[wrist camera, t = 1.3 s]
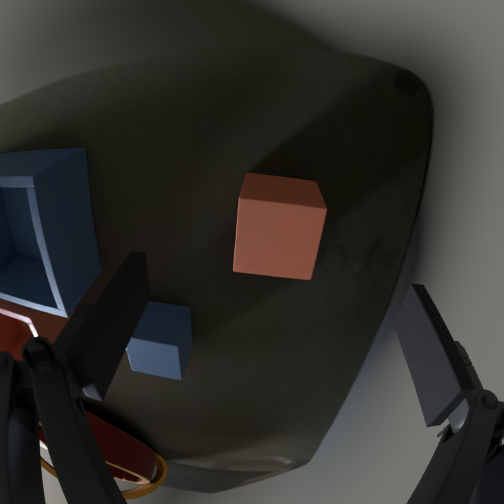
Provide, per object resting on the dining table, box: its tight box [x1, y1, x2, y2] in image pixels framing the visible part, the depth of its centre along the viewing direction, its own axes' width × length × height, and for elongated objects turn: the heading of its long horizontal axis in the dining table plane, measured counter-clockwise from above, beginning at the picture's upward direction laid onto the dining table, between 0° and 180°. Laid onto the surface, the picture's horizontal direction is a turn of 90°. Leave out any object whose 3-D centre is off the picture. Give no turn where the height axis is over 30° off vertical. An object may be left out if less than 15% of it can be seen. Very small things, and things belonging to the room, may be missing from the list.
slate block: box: [126, 301, 192, 380], centre depth 27 cm, size 5×5×5 cm
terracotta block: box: [233, 173, 327, 280], centre depth 20 cm, size 5×5×5 cm
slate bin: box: [0, 148, 102, 318], centre depth 21 cm, size 12×12×7 cm
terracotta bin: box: [0, 298, 75, 360], centre depth 28 cm, size 12×12×7 cm
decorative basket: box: [39, 410, 168, 499], centre depth 41 cm, size 34×29×15 cm
